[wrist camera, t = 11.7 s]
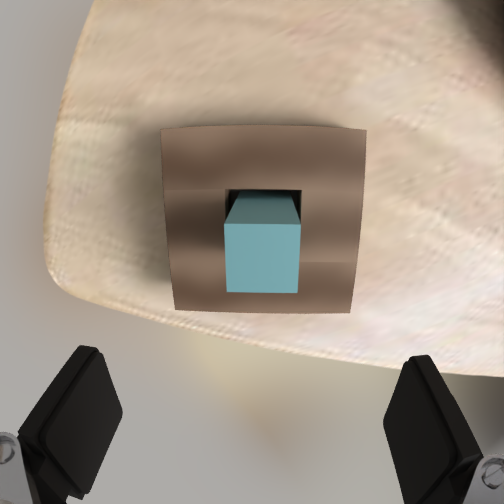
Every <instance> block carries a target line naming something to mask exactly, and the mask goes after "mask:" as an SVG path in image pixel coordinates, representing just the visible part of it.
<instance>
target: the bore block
mask: <svg viewBox="0 0 504 504" xmlns="http://www.w3.org/2000/svg"><path fill="white" fill-rule="evenodd" d="M161 153H162V174H163V191H164V206H165V219H166V231H167V242H168V252H169V262H170V271H171V280H172V289H173V297H174V305H175V310H186V311H208V312H236V313H298V314H312V313H350V309H351V303H352V296H353V289H354V282H355V274H356V266H357V258H358V249H359V240H360V230H361V219H362V208H363V194H364V179H365V160H366V130H361V129H349V128H336V127H319V126H296V125H223V126H199V127H182V128H169V129H161ZM240 191H290V194H291V197H292V200H293V203H294V206H295V209H296V211H297V214H298V218H299V221H300V224H301V233H300V255H299V274H298V291H297V293H253V292H227V286H226V262H225V235H224V223H225V221H226V219H227V217H228V215H229V213H230V211H231V209H232V207H233V205H234V203H235V201H236V199H237V197H238V195H239V193H240Z"/></svg>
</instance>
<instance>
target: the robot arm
mask: <svg viewBox="0 0 504 504" xmlns="http://www.w3.org/2000/svg"><path fill="white" fill-rule="evenodd" d="M122 413H123V412H122V407H121V404H120V402H119V400H118V396H117V394H116V391H115V388H114V386H113V383H112V380H111V377H110V374H109V371H108V368H107V366H106V362H105V359H104V356H103V354H102V353H100V352H99V350H98V349H97V348H95V347H90V346H84V345H80V346H79V347H78V348H77V349H76V350H75V351H74V353H73V354H72V355H71V357H70V358H69V360H68V361H67V362H66V364H65V365H64V366H63V368H62V369H61V370H60V371H59V373H58V374H57V376H56V377H55V378H54V380H53V381H52V383H51V384H50V385H49V387H48V388H47V390H46V391H45V392H44V394H43V395H42V397H41V398H40V400H39V401H38V402H37V404H36V405H35V407H34V408H33V410H32V411H31V412H30V414H29V416H28V417H27V419H26V420H25V421H24V423H23V424H22V426H21V427H20V429H19V431H18V433H19V435H18V437H17V438H16V437H15V436H14V435H13V434H11V433H7V432H0V504H67V503H66V499H67V497H68V495H70V496H72V497H75V498H78V499H80V500H82V499H83V497H84V495H85V494H88V493H89V492H90V490H91V488H92V485H93V483H94V481H95V478H96V476H97V473H98V471H99V469H100V466H101V464H102V462H103V459H104V457H105V455H106V452H107V450H108V448H109V445H110V443H111V441H112V439H113V436H114V434H115V432H116V430H117V427H118V425H119V423H120V421H121V418H122ZM383 426H384V430H385V434H386V437H387V441H388V444H389V447H390V451H391V455H392V458H393V462H394V465H395V469H396V473H397V477H398V480H399V484H400V488H401V492H402V496H403V500H404V504H504V455H502V454H490V455H488V456H486V457H483V454H482V452H481V450H480V448H479V446H478V444H477V442H476V440H475V437H474V436H473V433H472V431H471V429H470V427H469V425H468V423H467V421H466V420H465V417H464V415H463V414H462V412H461V410H460V408H459V406H458V404H457V402H456V400H455V399H454V397H453V396H452V394H451V393H450V391H449V389H448V387H447V385H446V384H445V382H444V380H443V378H442V376H441V375H440V373H439V371H438V369H437V368H436V366H435V364H434V362H433V361H432V359H431V357H430V356H429V355H420V356H412V357H410V358H409V360H408V361H406V362H405V363H404V364H403V367H402V370H401V373H400V376H399V379H398V382H397V384H396V387H395V390H394V393H393V396H392V398H391V401H390V403H389V406H388V408H387V411H386V413H385V416H384V419H383Z"/></svg>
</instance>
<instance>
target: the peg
mask: <svg viewBox="0 0 504 504" xmlns="http://www.w3.org/2000/svg"><path fill="white" fill-rule="evenodd" d="M300 233H301V224H300V221H299V218H298V214H297V211H296V209H295V206H294V203H293V200H292V197H291V194H290V191H240V193H239V195H238V197H237V199H236V201H235V203H234V205H233V207H232V209H231V211H230V213H229V215H228V217H227V219H226V221H225V223H224V235H225V262H226V286H227V292H253V293H297V291H298V274H299V255H300Z"/></svg>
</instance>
